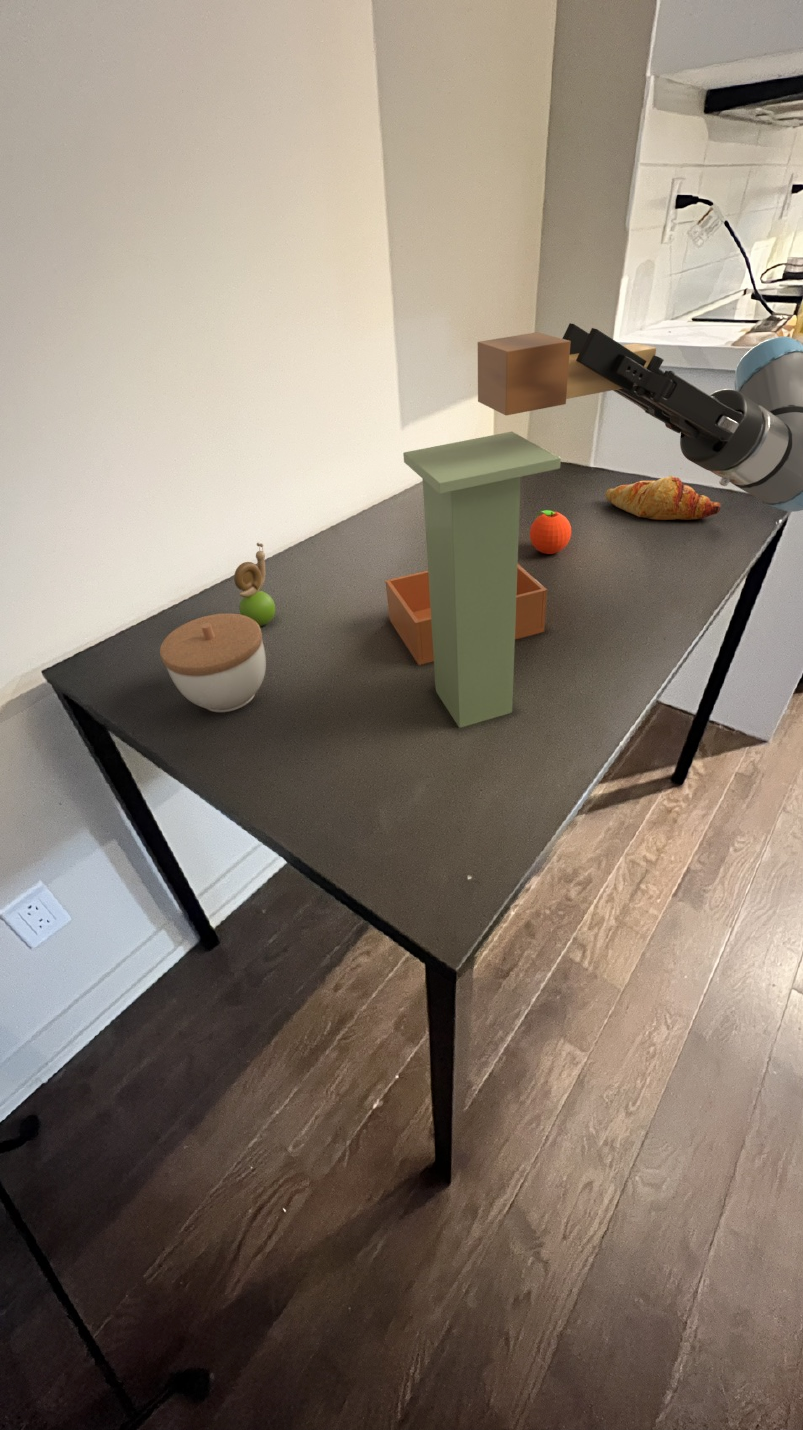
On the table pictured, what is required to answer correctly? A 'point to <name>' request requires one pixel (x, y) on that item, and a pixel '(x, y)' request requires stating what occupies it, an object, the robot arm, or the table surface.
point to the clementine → (550, 532)
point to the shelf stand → (475, 565)
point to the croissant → (662, 500)
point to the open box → (414, 610)
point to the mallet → (537, 373)
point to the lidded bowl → (216, 660)
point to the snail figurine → (254, 590)
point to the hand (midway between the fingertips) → (575, 342)
